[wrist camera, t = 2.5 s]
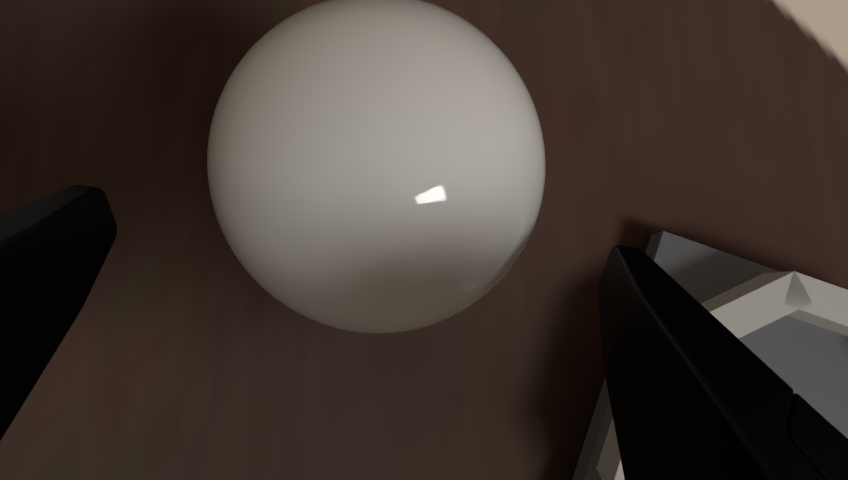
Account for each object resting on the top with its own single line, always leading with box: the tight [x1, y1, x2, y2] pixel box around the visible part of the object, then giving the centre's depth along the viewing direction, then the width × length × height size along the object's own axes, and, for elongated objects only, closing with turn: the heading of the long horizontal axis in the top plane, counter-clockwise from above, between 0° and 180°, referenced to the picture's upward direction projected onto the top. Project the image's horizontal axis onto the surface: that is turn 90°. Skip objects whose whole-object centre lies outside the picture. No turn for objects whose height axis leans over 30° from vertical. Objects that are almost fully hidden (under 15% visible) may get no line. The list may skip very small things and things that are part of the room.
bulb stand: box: [572, 231, 848, 480], centre depth 16 cm, size 11×11×2 cm
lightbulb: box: [207, 0, 546, 334], centre depth 13 cm, size 6×6×11 cm
